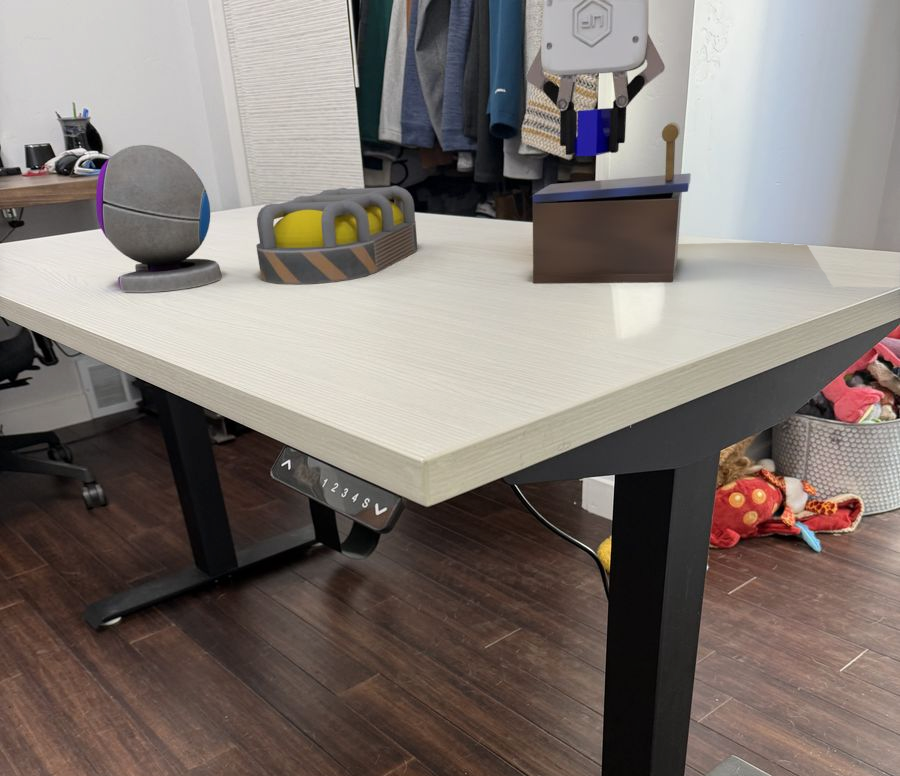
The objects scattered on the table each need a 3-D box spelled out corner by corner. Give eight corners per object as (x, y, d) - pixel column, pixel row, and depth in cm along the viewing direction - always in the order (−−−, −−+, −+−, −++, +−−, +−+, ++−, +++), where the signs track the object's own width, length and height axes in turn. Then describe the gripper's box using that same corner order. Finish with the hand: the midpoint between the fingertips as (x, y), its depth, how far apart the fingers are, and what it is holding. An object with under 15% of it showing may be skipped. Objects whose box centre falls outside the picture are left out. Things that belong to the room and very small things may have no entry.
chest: (676, 263, 98) (682, 187, 94) (673, 281, 89) (679, 198, 85) (549, 264, 102) (550, 192, 98) (533, 283, 92) (532, 203, 88)
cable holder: (585, 151, 94) (586, 109, 92) (617, 150, 92) (618, 107, 90) (562, 156, 87) (563, 111, 85) (596, 155, 86) (597, 109, 84)
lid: (690, 181, 94) (692, 119, 91) (687, 191, 84) (690, 123, 81) (550, 191, 98) (548, 133, 95) (532, 203, 88) (530, 138, 85)
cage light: (426, 182, 119) (346, 206, 94) (430, 244, 123) (354, 283, 98) (328, 186, 122) (226, 210, 98) (335, 246, 126) (239, 284, 102)
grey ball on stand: (127, 277, 111) (97, 146, 103) (227, 270, 112) (205, 139, 104) (104, 296, 100) (68, 150, 92) (216, 287, 101) (189, 142, 93)
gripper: (502, -63, 80) (506, 159, 89) (688, -84, 75) (673, 151, 85) (517, -52, 86) (520, 154, 95) (690, -71, 82) (675, 147, 91)
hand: (592, 150), depth 90 cm, fingers closed on cable holder, 3 cm apart
